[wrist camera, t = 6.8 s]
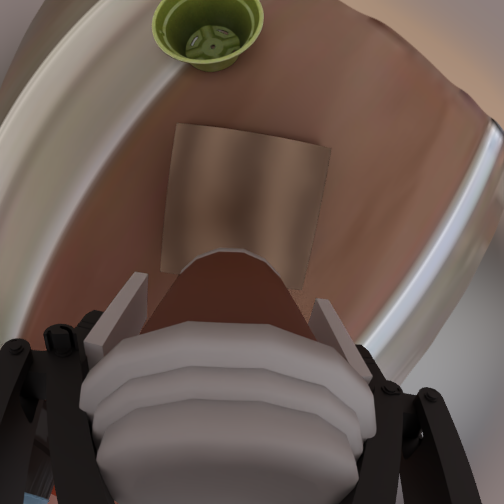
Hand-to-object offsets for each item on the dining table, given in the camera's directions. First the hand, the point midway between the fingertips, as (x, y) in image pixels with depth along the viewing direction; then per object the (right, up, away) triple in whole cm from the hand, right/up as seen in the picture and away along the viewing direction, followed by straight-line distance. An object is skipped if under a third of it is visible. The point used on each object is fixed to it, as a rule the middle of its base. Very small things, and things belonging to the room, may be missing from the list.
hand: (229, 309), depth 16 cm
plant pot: (-3, +25, +11) cm, 28 cm away
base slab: (0, +8, +17) cm, 19 cm away
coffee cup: (0, 0, +1) cm, 1 cm away
